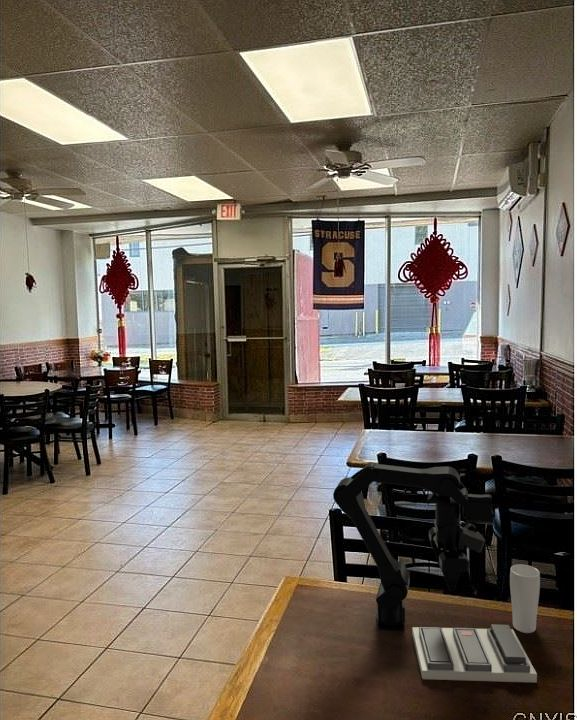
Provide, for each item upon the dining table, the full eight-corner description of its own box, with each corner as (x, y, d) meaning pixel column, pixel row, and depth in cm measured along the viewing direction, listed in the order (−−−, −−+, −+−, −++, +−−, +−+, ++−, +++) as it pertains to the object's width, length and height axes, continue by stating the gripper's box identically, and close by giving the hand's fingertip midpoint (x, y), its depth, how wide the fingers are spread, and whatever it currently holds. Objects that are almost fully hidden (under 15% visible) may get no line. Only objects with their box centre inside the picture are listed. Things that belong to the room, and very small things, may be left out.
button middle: (468, 668, 119) (468, 661, 118) (456, 635, 130) (456, 629, 130) (487, 669, 118) (487, 662, 118) (473, 635, 130) (473, 629, 130)
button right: (506, 663, 118) (506, 656, 118) (490, 630, 130) (490, 624, 129) (525, 663, 117) (525, 657, 117) (508, 630, 129) (508, 624, 129)
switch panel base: (422, 679, 119) (422, 663, 118) (412, 634, 135) (412, 621, 134) (536, 682, 117) (536, 667, 116) (512, 637, 132) (512, 623, 132)
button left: (430, 667, 119) (430, 660, 119) (422, 634, 131) (422, 628, 131) (449, 667, 119) (449, 661, 119) (439, 634, 131) (439, 628, 131)
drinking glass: (542, 637, 132) (543, 578, 131) (512, 634, 133) (513, 576, 132) (535, 621, 139) (536, 564, 137) (507, 619, 140) (507, 563, 138)
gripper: (492, 536, 123) (492, 602, 124) (472, 506, 141) (472, 563, 143) (442, 536, 124) (442, 601, 125) (428, 505, 142) (428, 563, 144)
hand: (447, 581), depth 134 cm, fingers open, 9 cm apart
